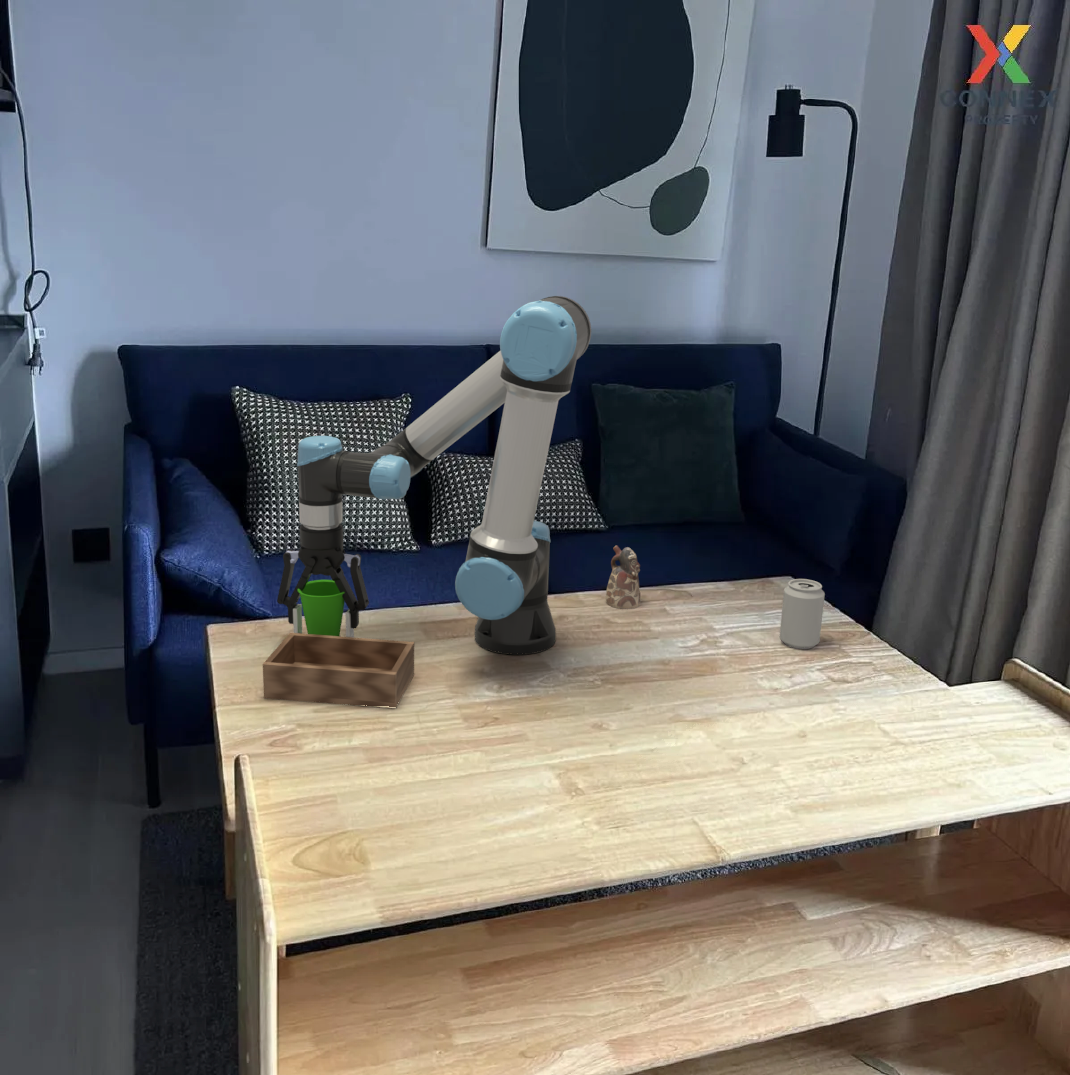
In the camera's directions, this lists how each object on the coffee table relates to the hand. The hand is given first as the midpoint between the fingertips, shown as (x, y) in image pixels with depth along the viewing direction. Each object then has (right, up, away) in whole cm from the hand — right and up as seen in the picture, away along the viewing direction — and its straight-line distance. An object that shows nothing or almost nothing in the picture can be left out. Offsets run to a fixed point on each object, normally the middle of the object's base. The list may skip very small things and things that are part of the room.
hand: (324, 641), depth 216 cm
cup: (0, -1, 0) cm, 1 cm away
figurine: (+57, +5, +26) cm, 62 cm away
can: (+89, -1, +8) cm, 89 cm away
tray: (+6, -6, -17) cm, 19 cm away
